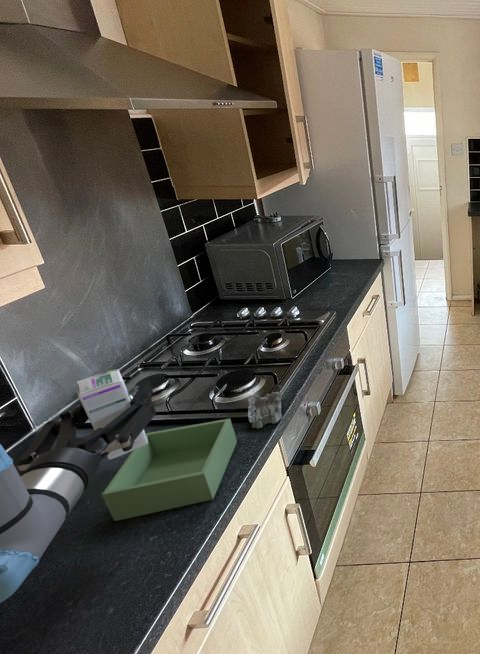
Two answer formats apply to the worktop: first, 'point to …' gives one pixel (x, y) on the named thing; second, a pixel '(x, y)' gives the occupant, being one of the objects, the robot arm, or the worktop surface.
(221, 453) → the storage tray
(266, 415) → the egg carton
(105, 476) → the worktop surface
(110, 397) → the syrup box
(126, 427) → the robot arm
